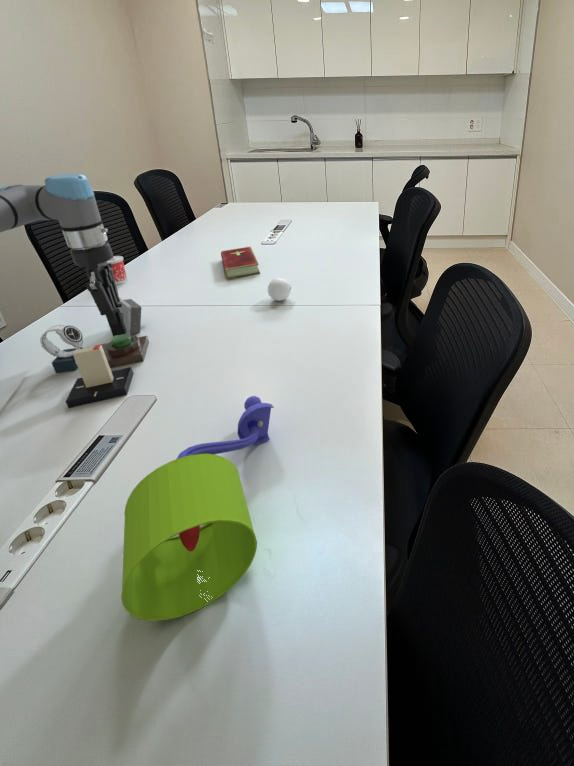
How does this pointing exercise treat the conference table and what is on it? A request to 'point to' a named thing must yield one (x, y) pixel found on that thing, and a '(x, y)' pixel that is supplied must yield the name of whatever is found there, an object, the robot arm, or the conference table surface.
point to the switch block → (126, 352)
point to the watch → (65, 357)
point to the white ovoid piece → (279, 289)
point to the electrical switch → (130, 315)
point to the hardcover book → (239, 262)
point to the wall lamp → (190, 527)
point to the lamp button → (121, 340)
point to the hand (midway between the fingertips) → (119, 333)
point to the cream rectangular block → (93, 366)
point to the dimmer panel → (100, 389)
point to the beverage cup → (118, 269)
